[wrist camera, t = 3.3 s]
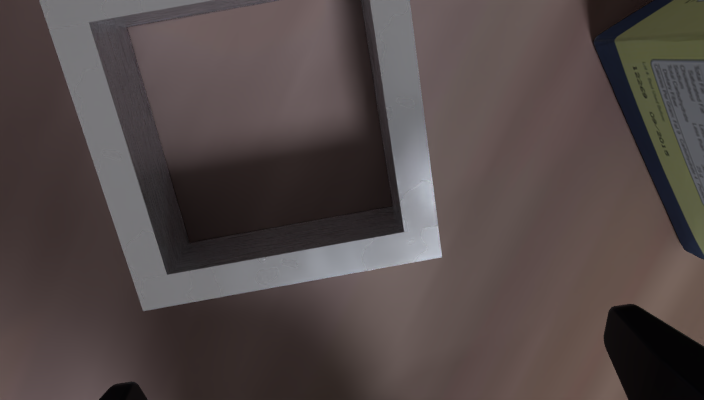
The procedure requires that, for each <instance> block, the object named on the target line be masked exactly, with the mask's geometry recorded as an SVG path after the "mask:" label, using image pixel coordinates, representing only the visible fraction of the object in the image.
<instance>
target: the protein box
mask: <svg viewBox="0 0 704 400" xmlns="http://www.w3.org/2000/svg"><path fill="white" fill-rule="evenodd" d="M594 45H595V48H596V50H597V53H598V55H599V57H600V60H601V62H602V65H603V67H604V69H605V71H606V74H607V76H608V78H609V80H610V82H611V85H612V87H613V90H614V92H615V95H616V97H617V100H618V102H619V104H620V106H621V108H622V110H623V113H624V115H625V118H626V120H627V122H628V125H629V127H630V129H631V131H632V134H633V136H634V138H635V140H636V143H637V145H638V147H639V149H640V152H641V154H642V156H643V159H644V161H645V163H646V166H647V168H648V170H649V173H650V175H651V177H652V179H653V181H654V184H655V186H656V188H657V191H658V193H659V195H660V197H661V200H662V202H663V204H664V206H665V208H666V210H667V212H668V215H669V217H670V219H671V222H672V224H673V226H674V229H675V231H676V233H677V235H678V238H679V240H680V242H681V244H682V246H683V248H684V250H686V251H687V252H689V253H692V254H693V255H695V256H697V257H699V258H701V259H704V0H654V1H652V2H651V3H649V4H647V5H646V6H644V7H643V8H641V9H639V10H638V11H636V12H634V13H633V14H631V15H630V16H628V17H626V18H625V19H623V20H622V21H620V22H618V23H617V24H615V25H614V26H612V27H610V28H609V29H607V30H606V31H604V32H603V33H601V34H600V35H598V36H597V37H596V38H595V40H594Z"/></svg>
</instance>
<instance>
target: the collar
mask: <svg viewBox="0 0 704 400" xmlns="http://www.w3.org/2000/svg"><path fill="white" fill-rule="evenodd" d="M39 1H40V4H41V7H42V10H43V13H44V16H45V19H46V22H47V25H48V28H49V31H50V34H51V37H52V40H53V43H54V46H55V49H56V52H57V55H58V58H59V61H60V64H61V67H62V70H63V73H64V76H65V79H66V82H67V85H68V88H69V91H70V94H71V97H72V100H73V103H74V106H75V109H76V112H77V115H78V118H79V121H80V124H81V127H82V130H83V133H84V136H85V139H86V142H87V145H88V148H89V151H90V154H91V157H92V160H93V163H94V166H95V169H96V172H97V175H98V178H99V181H100V184H101V187H102V190H103V193H104V196H105V199H106V202H107V205H108V208H109V211H110V214H111V217H112V220H113V223H114V226H115V229H116V232H117V235H118V238H119V241H120V244H121V247H122V249H123V252H124V255H125V258H126V261H127V264H128V267H129V270H130V273H131V276H132V279H133V282H134V285H135V288H136V291H137V294H138V297H139V300H140V303H141V306H142V309H143V311H147V310H152V309H158V308H163V307H169V306H174V305H180V304H186V303H191V302H197V301H202V300H208V299H213V298H219V297H224V296H230V295H235V294H241V293H246V292H252V291H257V290H263V289H269V288H274V287H280V286H285V285H291V284H296V283H302V282H307V281H313V280H318V279H324V278H329V277H335V276H340V275H346V274H351V273H357V272H363V271H368V270H374V269H379V268H385V267H390V266H396V265H401V264H407V263H412V262H418V261H423V260H429V259H434V258H440V257H442V253H441V245H440V237H439V230H438V222H437V214H436V206H435V198H434V190H433V182H432V174H431V166H430V158H429V150H428V142H427V134H426V126H425V118H424V110H423V102H422V94H421V86H420V78H419V70H418V62H417V54H416V46H415V38H414V31H413V23H412V15H411V7H410V0H361V3H362V10H363V16H364V23H365V29H366V36H367V42H368V49H369V56H370V62H371V69H372V75H373V82H374V88H375V95H376V101H377V108H378V114H379V121H380V127H381V134H382V141H383V147H384V154H385V160H386V167H387V173H388V180H389V186H390V193H391V199H392V206H391V207H386V208H380V209H375V210H369V211H364V212H358V213H353V214H347V215H341V216H336V217H330V218H325V219H319V220H314V221H308V222H303V223H297V224H292V225H286V226H280V227H275V228H269V229H264V230H258V231H253V232H247V233H242V234H236V235H230V236H225V237H219V238H214V239H208V240H203V241H197V242H192V243H189V240H188V237H187V233H186V230H185V226H184V223H183V219H182V216H181V212H180V209H179V205H178V202H177V199H176V195H175V192H174V188H173V185H172V181H171V178H170V174H169V171H168V167H167V164H166V160H165V157H164V154H163V150H162V147H161V143H160V140H159V136H158V133H157V129H156V126H155V122H154V119H153V116H152V112H151V109H150V105H149V102H148V98H147V95H146V91H145V88H144V84H143V81H142V77H141V74H140V71H139V67H138V64H137V60H136V57H135V53H134V50H133V46H132V43H131V39H130V36H129V33H128V29H127V27H131V26H136V25H142V24H147V23H153V22H159V21H164V20H170V19H176V18H181V17H187V16H193V15H198V14H204V13H209V12H215V11H221V10H226V9H232V8H238V7H243V6H249V5H255V4H260V3H266V2H272V1H277V0H39Z"/></svg>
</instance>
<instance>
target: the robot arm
mask: <svg viewBox="0 0 704 400" xmlns="http://www.w3.org/2000/svg"><path fill="white" fill-rule="evenodd" d="M604 344H605V347H606V350H607V352H608V354H609V357H610V359H611V361H612V364H613V366H614V368H615V370H616V373H617V375H618V377H619V379H620V382H621V384H622V386H623V389H624V391H625V393H626V395H627V398H628V400H704V346H702V345H701V344H699V343H697V342H696V341H694V340H692V339H691V338H689V337H688V336H686V335H684V334H683V333H681V332H679V331H678V330H676V329H675V328H673V327H671V326H670V325H668V324H666V323H665V322H663V321H662V320H660V319H658V318H657V317H655V316H653V315H652V314H650V313H649V312H647V311H645V310H644V309H642V308H640V307H639V306H637V305H634V304H626V305H619V306H614V307H612V308H611V309H610V310H609V312H608V317H607V322H606V327H605V332H604ZM99 400H147V398H146V396H145V395H144V393H143V391H142V390H141V388H140V387H139V385H138V384H137V383H135V382H126V383H119V384H115V385H113V386H112V387H110V388H109V389H108V390H107V391H106V392H105V394H104V395H103V396H102V397H101V398H100V399H99Z"/></svg>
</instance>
